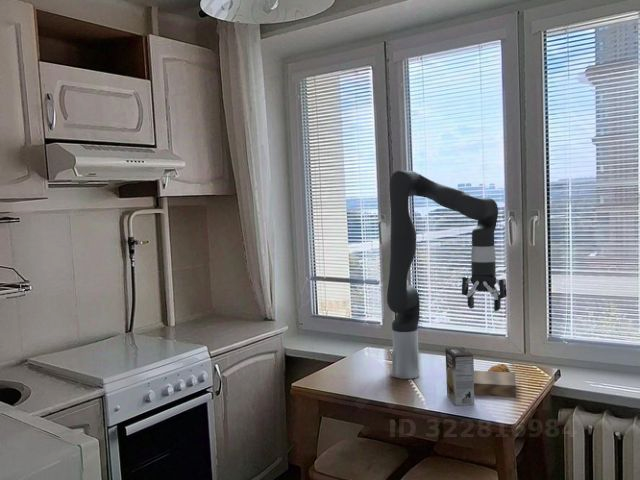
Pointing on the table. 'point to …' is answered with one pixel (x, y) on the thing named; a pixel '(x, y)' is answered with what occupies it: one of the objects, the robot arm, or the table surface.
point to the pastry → (500, 368)
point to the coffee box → (460, 376)
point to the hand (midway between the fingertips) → (483, 309)
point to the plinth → (494, 384)
